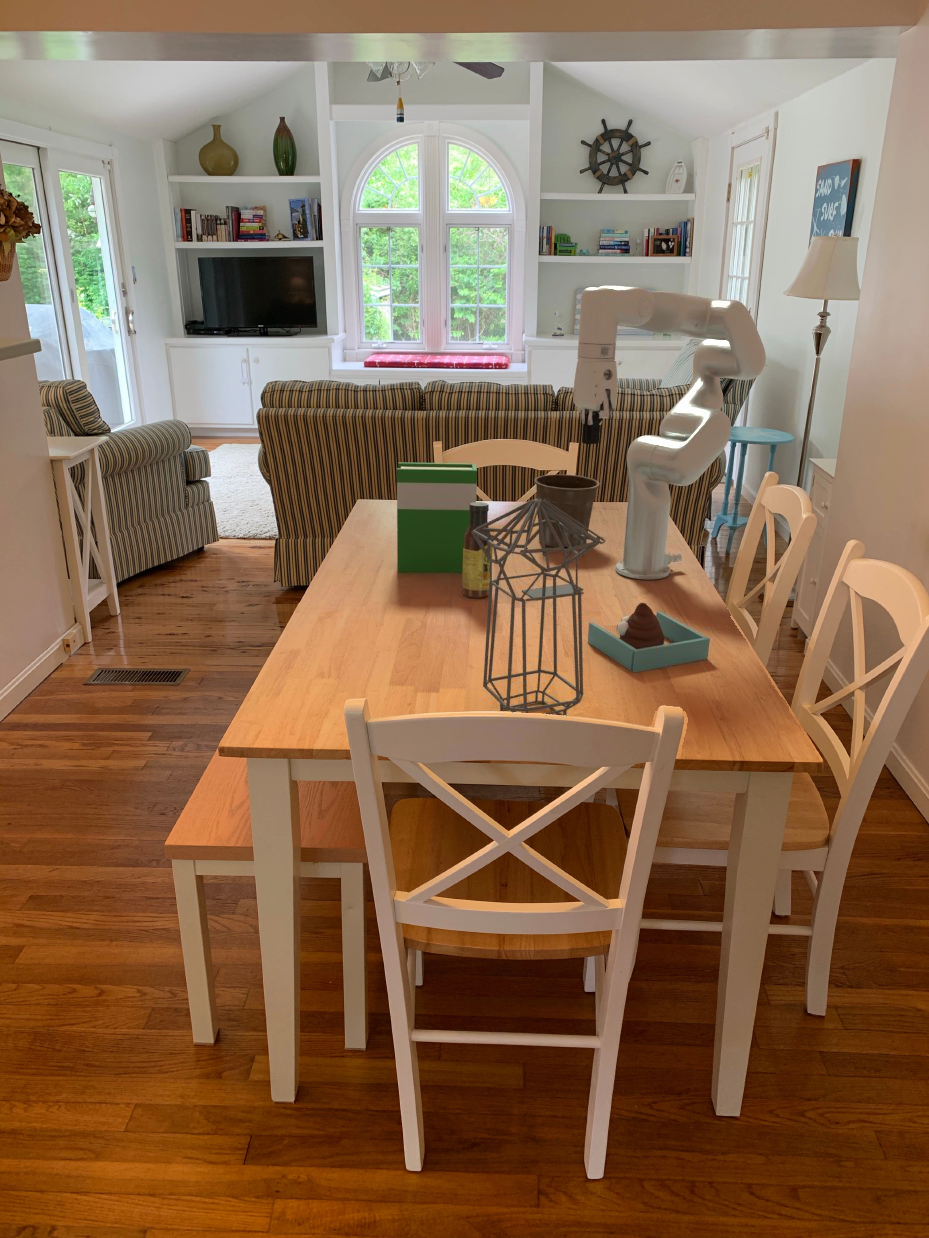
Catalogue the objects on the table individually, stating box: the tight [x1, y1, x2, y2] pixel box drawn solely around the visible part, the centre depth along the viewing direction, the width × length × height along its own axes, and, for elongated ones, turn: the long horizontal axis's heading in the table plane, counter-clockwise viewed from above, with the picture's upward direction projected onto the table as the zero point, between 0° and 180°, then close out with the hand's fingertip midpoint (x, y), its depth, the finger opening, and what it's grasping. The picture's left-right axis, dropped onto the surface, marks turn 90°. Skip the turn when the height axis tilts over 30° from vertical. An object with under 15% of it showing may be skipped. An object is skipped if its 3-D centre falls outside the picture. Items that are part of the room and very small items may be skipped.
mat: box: [521, 583, 584, 598], centre depth 204 cm, size 12×6×1 cm, turn 115°
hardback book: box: [396, 461, 478, 575], centre depth 214 cm, size 18×7×24 cm, turn 91°
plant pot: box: [534, 474, 600, 548], centre depth 238 cm, size 16×16×16 cm
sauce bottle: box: [461, 501, 494, 599], centre depth 198 cm, size 6×6×20 cm
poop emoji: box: [616, 602, 665, 649], centre depth 174 cm, size 10×8×9 cm
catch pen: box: [587, 611, 711, 673], centre depth 173 cm, size 16×15×4 cm
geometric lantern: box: [471, 497, 607, 716], centre depth 142 cm, size 16×16×35 cm
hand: (590, 443), depth 195 cm, fingers closed
